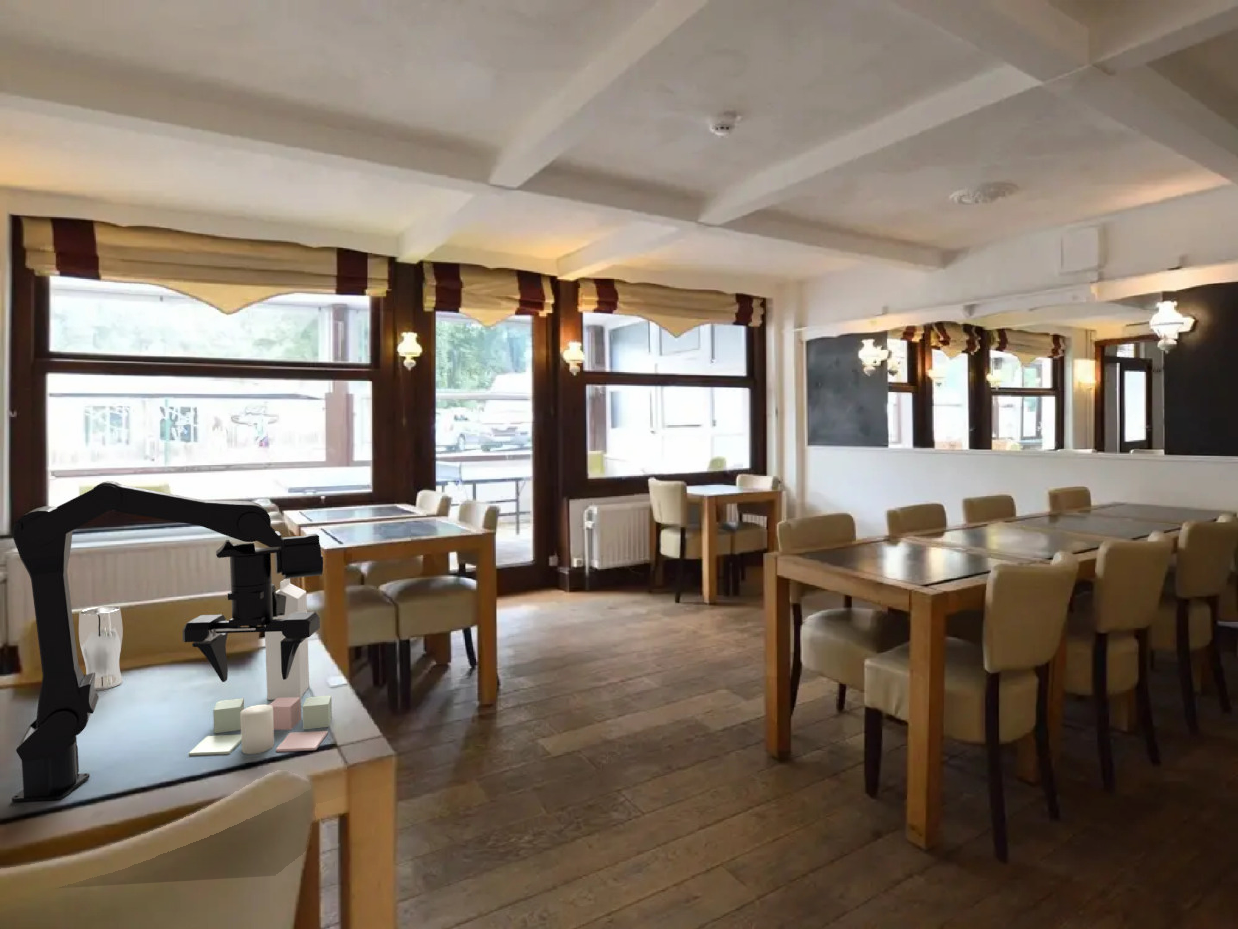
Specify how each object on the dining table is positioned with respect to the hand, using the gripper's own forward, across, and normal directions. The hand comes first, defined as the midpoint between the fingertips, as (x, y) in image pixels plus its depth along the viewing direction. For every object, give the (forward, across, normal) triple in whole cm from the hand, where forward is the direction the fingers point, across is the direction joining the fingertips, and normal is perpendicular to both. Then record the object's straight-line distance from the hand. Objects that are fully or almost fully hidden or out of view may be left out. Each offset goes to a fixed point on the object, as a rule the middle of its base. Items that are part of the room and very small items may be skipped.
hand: (255, 680), depth 113 cm
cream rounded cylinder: (+11, 0, 0) cm, 11 cm away
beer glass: (+11, +41, -31) cm, 53 cm away
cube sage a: (+11, -7, -8) cm, 15 cm away
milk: (+11, +3, -23) cm, 26 cm away
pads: (+11, 0, -1) cm, 11 cm away
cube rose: (+11, -1, -8) cm, 14 cm away
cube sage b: (+11, +8, -8) cm, 16 cm away
